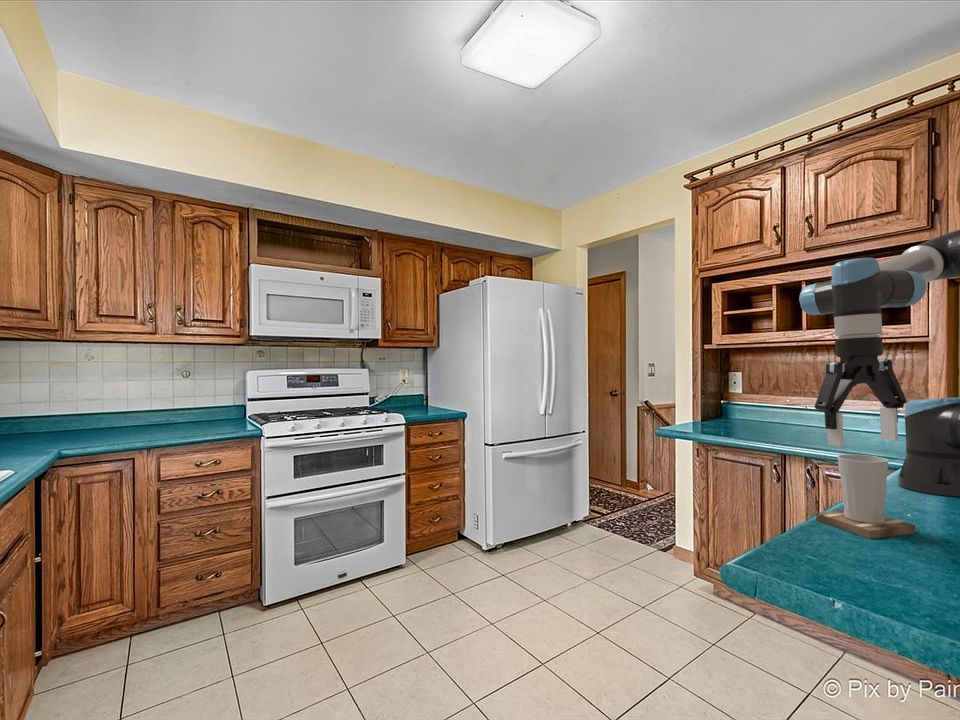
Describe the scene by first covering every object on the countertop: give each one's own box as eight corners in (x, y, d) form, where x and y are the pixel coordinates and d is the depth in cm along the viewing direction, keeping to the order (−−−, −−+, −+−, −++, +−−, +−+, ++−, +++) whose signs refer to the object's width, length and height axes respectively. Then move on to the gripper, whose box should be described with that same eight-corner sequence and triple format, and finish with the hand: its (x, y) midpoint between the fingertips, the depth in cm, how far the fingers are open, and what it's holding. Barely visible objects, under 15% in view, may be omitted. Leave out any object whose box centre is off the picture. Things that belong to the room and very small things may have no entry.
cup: (840, 509, 101) (838, 452, 102) (889, 516, 96) (887, 456, 96) (837, 519, 95) (836, 459, 95) (890, 527, 90) (888, 463, 90)
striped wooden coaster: (858, 515, 102) (857, 507, 102) (915, 532, 92) (915, 524, 92) (816, 520, 100) (815, 512, 100) (869, 538, 89) (869, 529, 89)
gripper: (886, 336, 103) (891, 434, 103) (790, 340, 97) (795, 444, 97) (926, 333, 95) (931, 440, 95) (824, 338, 90) (830, 451, 90)
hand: (863, 442), depth 96 cm, fingers open, 13 cm apart
